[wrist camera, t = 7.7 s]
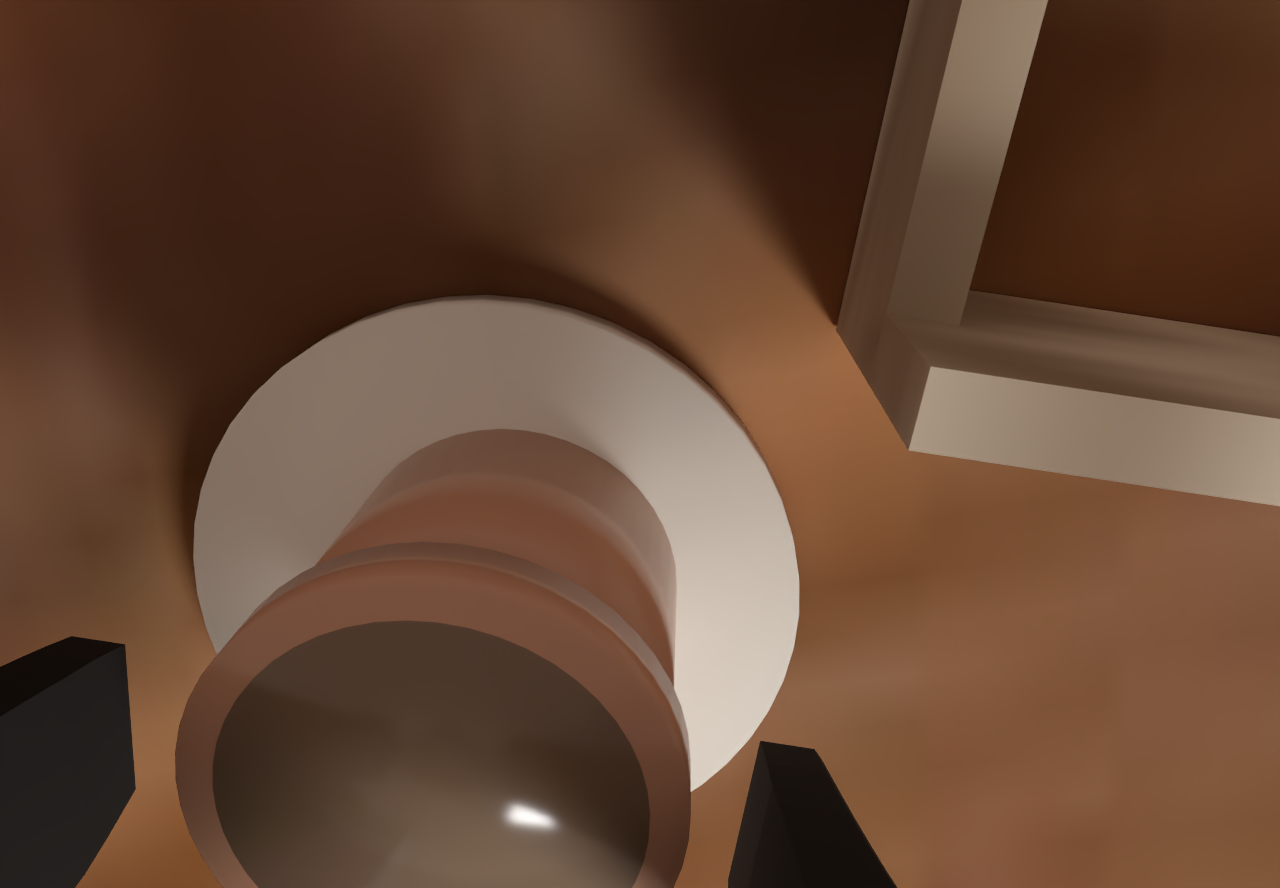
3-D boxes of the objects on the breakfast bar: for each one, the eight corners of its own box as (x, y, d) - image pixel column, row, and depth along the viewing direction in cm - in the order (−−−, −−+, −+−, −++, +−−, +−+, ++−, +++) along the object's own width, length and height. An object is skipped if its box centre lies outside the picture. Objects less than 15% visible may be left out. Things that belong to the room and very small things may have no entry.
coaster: (854, 347, 13) (861, 359, 12) (737, 849, 16) (739, 876, 15) (203, 249, 13) (181, 256, 12) (219, 772, 16) (202, 796, 15)
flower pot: (732, 465, 13) (754, 659, 8) (643, 760, 15) (623, 1043, 10) (361, 374, 13) (187, 527, 8) (320, 685, 14) (160, 941, 10)
